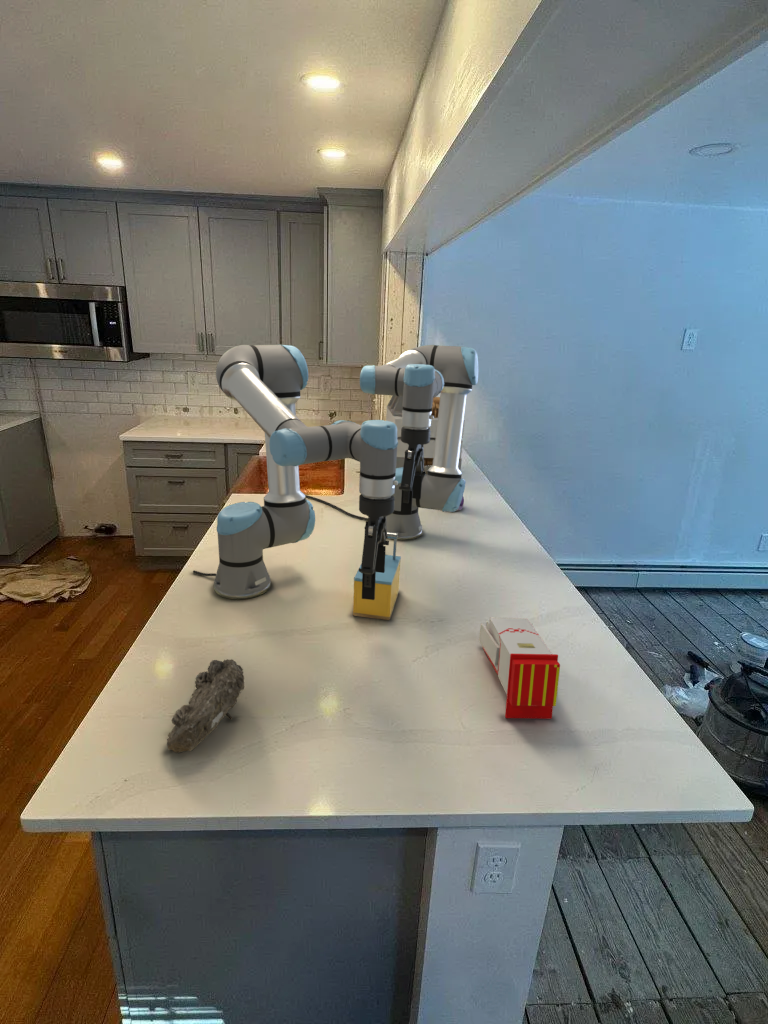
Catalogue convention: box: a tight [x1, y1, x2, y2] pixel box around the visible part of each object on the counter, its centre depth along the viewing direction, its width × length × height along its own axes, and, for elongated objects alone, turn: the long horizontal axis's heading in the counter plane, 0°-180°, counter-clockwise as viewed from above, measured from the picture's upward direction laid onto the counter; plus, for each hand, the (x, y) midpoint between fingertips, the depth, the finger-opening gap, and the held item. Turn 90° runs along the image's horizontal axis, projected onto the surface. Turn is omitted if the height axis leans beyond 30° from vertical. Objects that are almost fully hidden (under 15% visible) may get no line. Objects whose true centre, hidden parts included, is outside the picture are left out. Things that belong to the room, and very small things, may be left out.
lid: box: [353, 532, 402, 585], centre depth 148 cm, size 16×10×8 cm, turn 170°
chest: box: [352, 561, 401, 621], centre depth 151 cm, size 16×10×10 cm, turn 170°
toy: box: [478, 616, 561, 720], centre depth 122 cm, size 12×13×30 cm
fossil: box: [166, 658, 245, 754], centre depth 106 cm, size 22×10×15 cm
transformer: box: [385, 396, 465, 472], centre depth 268 cm, size 34×33×41 cm
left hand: (373, 584), depth 127 cm, fingers open, 13 cm apart
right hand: (411, 505), depth 152 cm, fingers open, 13 cm apart
